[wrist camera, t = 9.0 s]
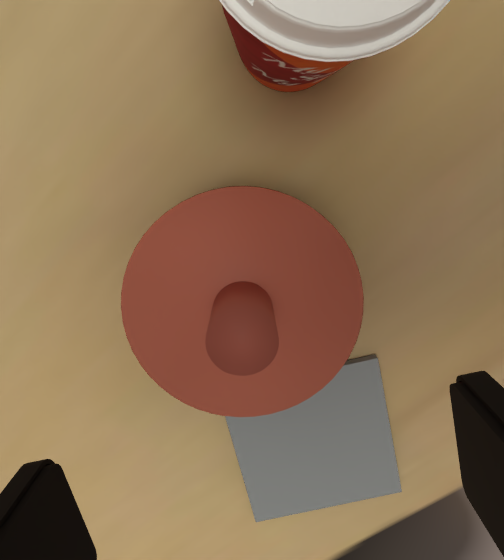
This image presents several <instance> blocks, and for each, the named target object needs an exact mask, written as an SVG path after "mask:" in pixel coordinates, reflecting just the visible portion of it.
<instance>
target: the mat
mask: <svg viewBox="0 0 504 560" xmlns="http://www.w3.org/2000/svg"><path fill="white" fill-rule="evenodd" d="M225 417H226V421H227V424H228V428H229V431H230V435H231V438H232V441H233V445H234V448H235V452H236V455H237V459H238V462H239V466H240V469H241V472H242V476H243V479H244V483H245V486H246V490H247V493H248V497H249V500H250V503H251V507H252V510H253V514H254V517H255V521H256V522H259V521H264V520H269V519H274V518H278V517H283V516H288V515H293V514H298V513H302V512H307V511H312V510H317V509H322V508H326V507H331V506H336V505H341V504H346V503H350V502H355V501H360V500H365V499H370V498H374V497H379V496H384V495H389V494H394V493H398V492H402V490H401V485H400V479H399V474H398V468H397V462H396V457H395V451H394V446H393V440H392V434H391V429H390V423H389V418H388V412H387V407H386V401H385V395H384V390H383V384H382V379H381V373H380V367H379V362H378V358H377V356H376V355H375V354H374V355H370V356H365V357H361V358H356V359H352V360H347V361H346V362H345V364H344V365H343V367H342V368H341V370H340V371H339V372H338V373H337V374H336V376H335V377H334V378H333V379H332V380H331V381H330V382H329V383H328V384H327V385H326V386H325V387H324V388H323V389H321V390H320V391H319V392H317V393H316V394H314V395H313V396H312V397H310V398H309V399H307V400H305V401H303V402H301V403H300V404H298V405H296V406H293V407H291V408H288V409H286V410H283V411H280V412H276V413H273V414H268V415H262V416H256V417H231V416H225Z"/></svg>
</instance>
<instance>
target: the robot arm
mask: <svg viewBox="0 0 504 560" xmlns="http://www.w3.org/2000/svg"><path fill="white" fill-rule="evenodd" d="M450 396H451V403H452V411H453V418H454V426H455V433H456V441H457V448H458V456H459V463H460V470H461V478H462V484H463V488H464V490H465V493H466V495H467V498H468V499H469V501H470V503H471V504H472V506H473V508H474V509H475V511H476V513H477V514H478V516H479V517H480V519H481V521H482V522H483V524H484V526H485V527H486V529H487V530H488V532H489V534H490V535H491V537H492V538H493V540H494V542H495V543H496V545H497V547H498V548H499V550H500V552H501V553H502V555H503V556H504V388H503V387H502V386H501V385H500V384H499V383H498V382H496V381H495V380H494V379H493V378H492V377H491V376H490V375H489V374H488V373H487V372H485V371H479V372H474V373H469V374H464V375H460V376H458V377H457V379H456V383H454V384H451V385H450ZM0 560H97V554H96V549H95V546H94V544H93V542H92V539H91V537H90V534H89V532H88V530H87V527H86V525H85V522H84V520H83V518H82V515H81V513H80V511H79V508H78V506H77V503H76V501H75V499H74V496H73V494H72V491H71V489H70V487H69V484H68V482H67V479H66V477H65V475H64V472H63V470H62V468H61V466H60V465H59V464H55V463H54V462H53V461H52V460H50V459H45V460H40V461H35V462H30V463H26V464H24V465H23V466H22V467H21V468H20V469H19V470H18V472H17V473H16V474H15V475H14V477H13V478H12V479H11V481H10V482H9V483H8V484H7V486H6V487H5V488H4V490H3V491H2V492H1V494H0Z"/></svg>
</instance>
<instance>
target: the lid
mask: <svg viewBox="0 0 504 560" xmlns="http://www.w3.org/2000/svg"><path fill="white" fill-rule="evenodd" d="M363 299H364V297H363V288H362V281H361V277H360V273H359V269H358V266H357V264H356V261H355V259H354V256H353V254H352V252H351V250H350V249H349V247H348V245H347V244H346V242H345V240H344V239H343V237H342V236H341V235H340V234H339V232H338V231H337V230H336V228H335V227H334V226H333V225H332V224H331V223H330V222H329V221H328V220H327V219H325V218H324V217H323V216H322V215H321V214H320V213H318V212H317V211H315V210H314V209H313V208H311V207H310V206H309V205H307V204H305V203H303V202H302V201H300V200H298V199H296V198H294V197H292V196H289V195H287V194H284V193H281V192H279V191H275V190H271V189H266V188H262V187H251V186H232V187H224V188H218V189H213V190H210V191H207V192H203V193H200V194H197V195H195V196H193V197H191V198H189V199H187V200H185V201H183V202H181V203H179V204H178V205H176V206H175V207H173V208H172V209H170V210H169V211H167V212H166V213H165V214H164V215H163V216H161V217H160V218H159V219H158V220H157V221H156V222H155V223H154V224H153V225H152V226H151V227H150V228H149V229H148V230H147V232H146V233H145V234H144V235H143V237H142V238H141V240H140V241H139V243H138V244H137V246H136V247H135V249H134V251H133V254H132V256H131V258H130V260H129V262H128V265H127V269H126V272H125V275H124V279H123V286H122V292H121V310H122V318H123V325H124V328H125V332H126V336H127V339H128V341H129V344H130V346H131V348H132V351H133V353H134V354H135V356H136V358H137V359H138V361H139V363H140V364H141V366H142V367H143V368H144V370H145V371H146V372H147V374H148V375H149V376H150V377H151V378H152V379H153V380H154V381H155V382H156V383H157V384H158V385H159V386H160V387H161V388H163V389H164V390H165V391H166V392H168V393H169V394H170V395H172V396H173V397H175V398H177V399H178V400H180V401H181V402H183V403H185V404H187V405H190V406H192V407H194V408H196V409H199V410H202V411H205V412H209V413H212V414H217V415H222V416H231V417H256V416H262V415H268V414H273V413H276V412H280V411H283V410H286V409H288V408H291V407H293V406H296V405H298V404H300V403H301V402H303V401H305V400H307V399H309V398H310V397H312V396H313V395H314V394H316V393H317V392H319V391H320V390H321V389H323V388H324V387H325V386H326V385H327V384H328V383H329V382H330V381H331V380H332V379H333V378H334V377H335V376H336V374H337V373H338V372H339V371H340V370H341V368H342V367H343V365H344V364H345V362H346V361H347V359H348V358H349V356H350V354H351V352H352V350H353V348H354V345H355V343H356V341H357V338H358V334H359V331H360V328H361V322H362V316H363Z"/></svg>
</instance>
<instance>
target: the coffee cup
mask: <svg viewBox="0 0 504 560" xmlns="http://www.w3.org/2000/svg"><path fill="white" fill-rule="evenodd" d="M219 1H220V2H221V4H222V7H223V11H224V14H225V17H226V19H227V22H228V25H229V27H230V30H231V33H232V35H233V38H234V41H235V44H236V47H237V50H238V52H239V55H240V57H241V59H242V61H243V63H244V65H245V67H246V68H247V70H248V71H249V72H250V73H251V75H252V76H253V77H254V78H255V79H256V80H258V81H259V82H260V83H262V84H263V85H265V86H267V87H269V88H271V89H274V90H277V91H283V92H294V91H300V90H304V89H306V88H309V87H311V86H313V85H315V84H317V83H319V82H321V81H322V80H324V79H326V78H327V77H329V76H330V75H332V74H334V73H335V72H337V71H338V70H340V69H341V68H343V67H344V66H346V65H347V64H349V63H350V62H352V61H353V60H356V59H361V58H365V57H370V56H373V55H375V54H378V53H380V52H383V51H385V50H388V49H390V48H393V47H394V46H396V45H398V44H400V43H401V42H403V41H405V40H406V39H408V38H410V37H411V36H413V35H414V34H416V33H417V32H418V31H419V30H420V29H422V28H423V27H424V26H425V25H426V24H428V23H429V22H430V21H431V20H433V19H434V18H435V16H436V15H437V14H438V13H439V12H440V11H441V10H442V9H443V8H444V7H445V6H446V4H447V3H448V2H449V1H450V0H219Z"/></svg>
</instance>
